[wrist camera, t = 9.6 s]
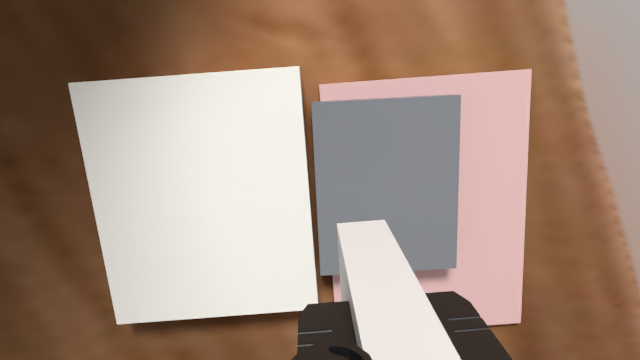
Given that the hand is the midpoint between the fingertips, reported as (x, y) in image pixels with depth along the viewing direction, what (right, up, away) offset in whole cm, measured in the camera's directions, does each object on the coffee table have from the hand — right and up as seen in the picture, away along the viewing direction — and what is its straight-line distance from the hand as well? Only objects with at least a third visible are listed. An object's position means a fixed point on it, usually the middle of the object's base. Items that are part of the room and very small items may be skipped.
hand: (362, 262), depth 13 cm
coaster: (+2, +2, +12) cm, 12 cm away
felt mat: (+5, +1, +12) cm, 14 cm away
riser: (-8, +2, +12) cm, 14 cm away
